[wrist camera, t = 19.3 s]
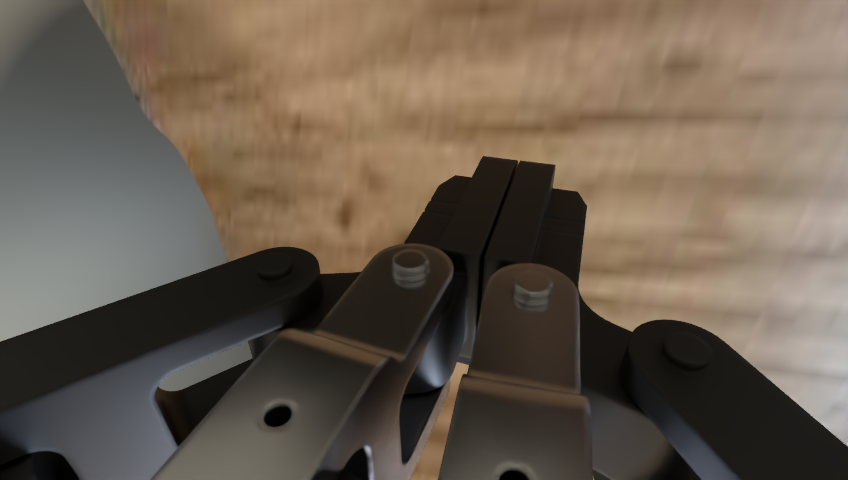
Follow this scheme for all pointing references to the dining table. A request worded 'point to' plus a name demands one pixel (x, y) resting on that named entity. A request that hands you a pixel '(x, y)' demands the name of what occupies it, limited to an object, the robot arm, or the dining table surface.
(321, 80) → the dining table surface
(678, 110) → the dining table surface
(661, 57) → the dining table surface
